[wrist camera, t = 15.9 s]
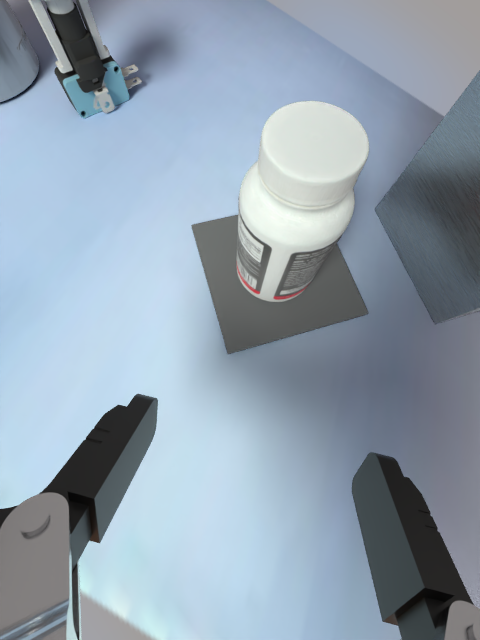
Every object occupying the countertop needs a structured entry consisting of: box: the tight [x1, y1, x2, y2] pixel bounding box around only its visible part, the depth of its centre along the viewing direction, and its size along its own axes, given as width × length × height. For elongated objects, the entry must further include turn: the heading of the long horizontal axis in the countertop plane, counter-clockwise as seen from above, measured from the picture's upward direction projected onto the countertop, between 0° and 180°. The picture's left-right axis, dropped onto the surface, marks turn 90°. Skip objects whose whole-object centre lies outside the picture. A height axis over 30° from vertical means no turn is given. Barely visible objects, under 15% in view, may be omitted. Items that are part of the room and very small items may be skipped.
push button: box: [28, 0, 142, 118], centre depth 19 cm, size 7×5×10 cm
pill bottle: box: [236, 101, 369, 302], centre depth 14 cm, size 5×5×10 cm
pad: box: [192, 215, 368, 354], centre depth 19 cm, size 10×10×1 cm
